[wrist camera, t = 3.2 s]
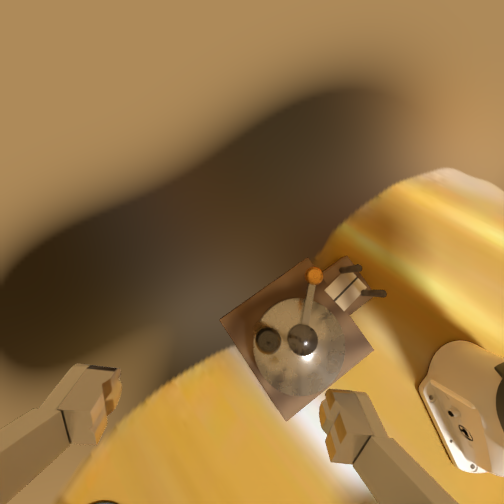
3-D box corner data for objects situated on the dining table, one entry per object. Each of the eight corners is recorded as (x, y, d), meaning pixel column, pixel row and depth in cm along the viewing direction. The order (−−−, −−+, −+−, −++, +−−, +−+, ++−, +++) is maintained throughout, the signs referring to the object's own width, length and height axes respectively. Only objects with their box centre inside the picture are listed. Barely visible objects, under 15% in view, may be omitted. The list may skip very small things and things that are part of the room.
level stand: (393, 326, 46) (426, 335, 38) (283, 415, 42) (294, 445, 34) (330, 240, 47) (349, 231, 39) (220, 318, 44) (216, 325, 36)
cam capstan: (352, 277, 44) (391, 274, 33) (333, 400, 41) (370, 443, 30) (265, 257, 44) (275, 247, 33) (239, 381, 40) (240, 416, 29)
